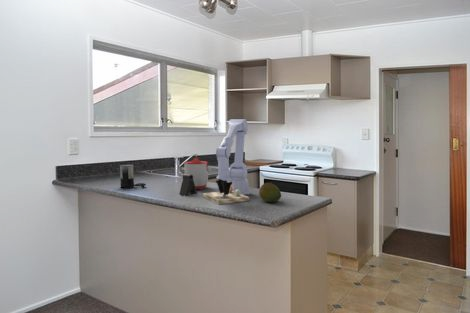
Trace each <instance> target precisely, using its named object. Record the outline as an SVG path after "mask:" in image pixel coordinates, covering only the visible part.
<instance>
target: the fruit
mask: <svg viewBox="0 0 470 313" xmlns="http://www.w3.org/2000/svg"><path fill="white" fill-rule="evenodd" d="M258 194H259V197H260V199H261V200H263V201H265V202H267V203H276V202H278V201H279V200H281V197H282V193H281V191H280V188H279V187H278V186H277V185H276V184H274V183H272V182H265V183H263V184H261V186H260V188H259V190H258Z"/></svg>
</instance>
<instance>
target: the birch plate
mask: <svg viewBox="0 0 470 313" xmlns="http://www.w3.org/2000/svg"><path fill="white" fill-rule="evenodd" d="M222 195H224V193H220V192H219V191H214V192H213V191H211V192H205V193H202V197H203V198H205V199H207V200H209V201H211V202H213V203H215V204H217V205H225V204H232V203H240V202H249V201H250V197H249V196H247V195H242V194H241V195H240V196H237V195H236V194H235V192H233V191H232V192H229V194H228V195H226V196H227V198H221V196H222Z"/></svg>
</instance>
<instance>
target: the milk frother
mask: <svg viewBox="0 0 470 313" xmlns="http://www.w3.org/2000/svg"><path fill="white" fill-rule="evenodd" d="M119 172H120V174H119V176H120V178H119V179H120V187H124V188H123V189H130V188H129V187H132V188H135V187H137V188H138V186H139V187H141V188H144V187H146V186H147V184H146V183H143V182H142V183H140V182H138V183H135V181H134V180H135V179H134V175H135V174H134V164H120V165H119ZM134 186H135V187H134Z"/></svg>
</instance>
